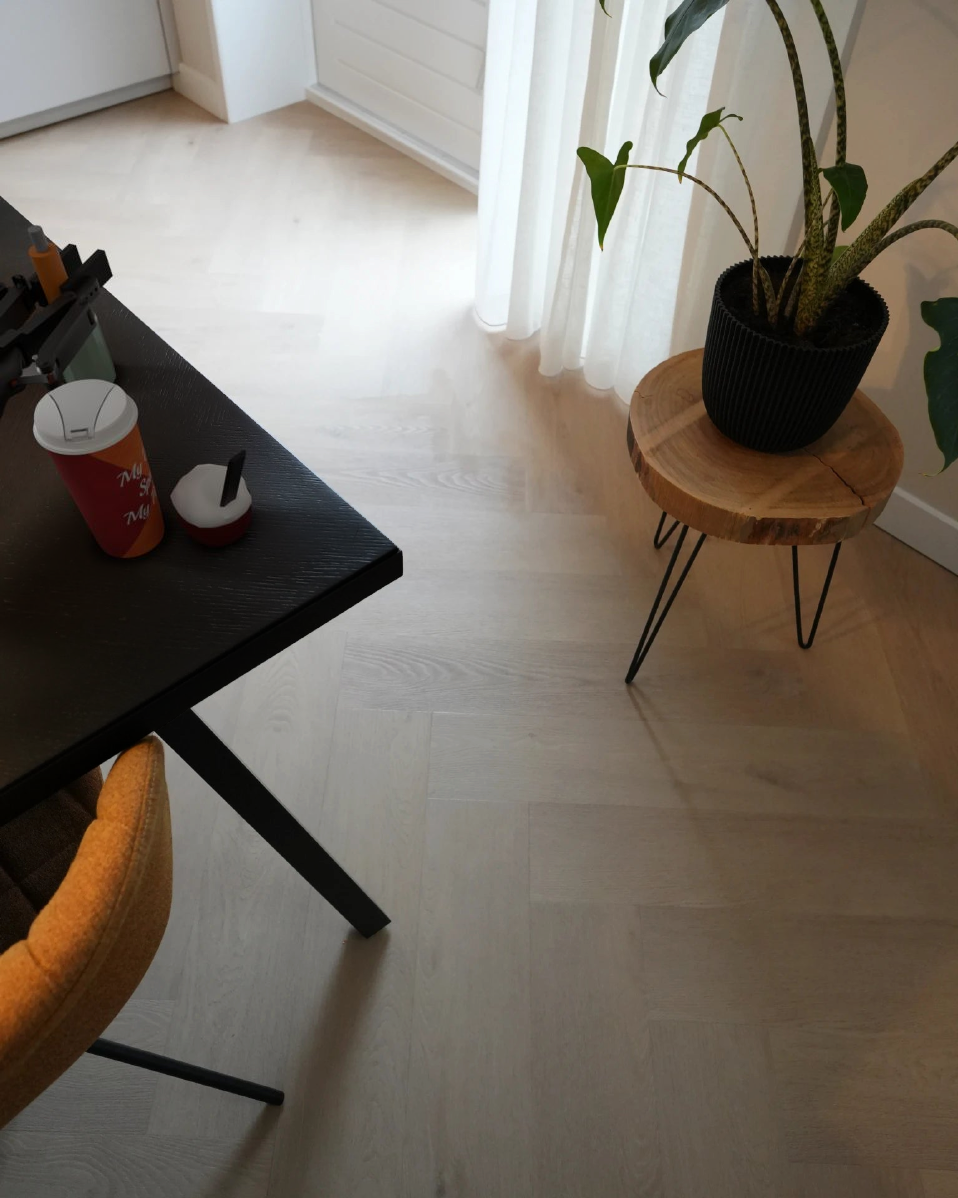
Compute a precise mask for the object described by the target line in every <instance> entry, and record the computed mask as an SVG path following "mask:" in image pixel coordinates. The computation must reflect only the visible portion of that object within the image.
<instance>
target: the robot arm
mask: <svg viewBox="0 0 958 1198" xmlns="http://www.w3.org/2000/svg"><path fill="white" fill-rule="evenodd" d="M59 255H60V258H61V260H62V263H63V266H64V268H65V271H66V274H67V277H68V279H67V280H66V281H65V282H64V283H63V284H62V285H61V286H60V287H59V288H60V290H61V293H62V294H61V295H60V296H59V297H58V298H57V299H55V300H54V301H53V302H52V303H50V304H49V303H48V301H47V298H46V296H45V293H44V291H43V288H42V286H41V283H40V280H39V278H38V275H37V273H36V271H35V272H34V273H32V274H31V275H30V276H29V277H28V278H27V279H26V277H25V275H24V274H21V273H20V274H19V273H17V274H14V275H12V276H11V277H10V278H11V281H12V282H13V286H7V284H6V283H5V282H0V421H1V420H2V418H3V416H4V412H5V409H6V406H7V403H8V401H9V400H10V399H11V398H13V397H14V396H16V395H18V394H20V393H22V392H23V391H25V389H26V388H27V385H38V384H44V386H45V388H46V390H47V391H49V392H51V391H53V390H54V389H56V388H58V387H60V386H62V380H63V372H64V371H65V369H66V368H67V367H68V365H69V364H70V362H71V361H72V360H73V358H74V357H75V355H76V354H77V353H78V351H79V350H80V348H81V347H82V346H83V344H84V343H85V341H86V340H87V339H88V337H89V336H90V334H91V333H92V332H93V330H94V329H95V327H96V326H97V323H96V320H95V317H94V314H93V312H92V310H93V309H92V306H91V304H92V303H93V302H95V300H96V299H97V298H98V297H99V296H101V293H102V288H103V287H104V286H105V285H106V284H107V283H108V282H109V281H110V280H111V279H112V278H113V276H114V274H113V271H112V269H111V265H110V262H109V260H108V256H107V252H106V250H105V249H101V248H100V249H99V248H97V249H96V250H95V251H94V252H93V253H92V254H91V255H90V256H89V257H87V259H86V260H85V261H84V262H83V261H82V259H81V255H80V253H79V250H78V247H77V244H74V243H68V244H67V245H66V246H64V248H62V250H60V251H59ZM37 302H38V305H39V307H40V308H43V309H41V310H40V311H39V312H38V313H36V314H35V315H34V316H32V315H33V314H34V312H35V311H36V309H37V307H38V306H37V304H36V303H37ZM31 316H32V318H31ZM29 318H30V319H29Z"/></svg>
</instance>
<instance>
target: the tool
mask: <svg viewBox="0 0 958 1198" xmlns="http://www.w3.org/2000/svg"><path fill="white" fill-rule="evenodd" d="M27 233H28V235H29V237H30V240H31V243H32V246H30V248H29V249H28V255H29V257H30V260H31V263H32V265H33V267H34V270H35V272H36V273H37V275H38V278H39V280H40V283H41V286H42V288H43V291H44V293H45V296H46V298H47V301H48V303H49V304H50V303H52V302H53V301H54V300H55V299H57V298H58V297H59V296H60V295H61V294H62V293H61V290H60V288H59V287H60V286H61V285H62V284H63V283H64V282H65V281H66V280H67V279H68V277H67V274H66V271H65V268H64V266H63V263H62V260H61V258H60V255H59V253H60V251H59V250H58V247H57V245H56V244H55V243H53V242H49V241H48V240H47V237H46V235H45V232H44V229H43V227H42V226H41V225H38V224H37V225H36V224H34V225H31V226H29V227H28V228H27Z"/></svg>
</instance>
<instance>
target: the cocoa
mask: <svg viewBox="0 0 958 1198" xmlns="http://www.w3.org/2000/svg"><path fill="white" fill-rule="evenodd" d="M246 456H247V450H246V449H243V448H242V449H239V450H238V451H237V452H235V453H233V454H232V455H231V456H229V457H228V462H227V466H226V465H219V464H212V463H205V464H197V465H196V466H194V468H193V469H191V470H190V471H189V472H188V473H187V474H185V475H183V476H182V477H181V478H180V479H178V480H177V481H176V485H175V487H174V488H173V490H172V492H171V493H170V495H169V497H170V499H171V503H172V505H173V507H174V508H175V512H176V513H175V514H176V516H177V519H178V521H179V523H180V524H181V526H182V527H183V529H184V530H185V531H186V533H187V534H188V535H189V537H191V539H192V540H193V541H194V542H198V543H200V544H202V545H204V546H206V547H219V548H220V547H225V546H228V545H232V544H234V543H235V542H237V541H238V540H239V539H240V538H242V537H243V536H244V535H246V533H247V531H248V529H249V527H250V525H251V522H252V518H253V505H252V500H253V499H252V495H251V490H250V489H249V488H248V486H247V485H246V481H245V479H244V478H243V476H242V474H243V469H244V465H245V461H246Z"/></svg>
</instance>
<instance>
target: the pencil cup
mask: <svg viewBox="0 0 958 1198" xmlns="http://www.w3.org/2000/svg"><path fill="white" fill-rule="evenodd" d="M92 312H93V314H94V317H95V320H96V323H97V326H96V327H95V329H94V330H93V332H92V333H91V334H90V336H89V337H88V339H87V340H86V341H85V343H84V344H83V346H82V347H81V348H80V350H79V351H78V353H77V354H76V355H75V357H74V358H73V360H72V361H71V362H70V364H69V365H68V367H67V368H66V369H65V371H64V372H63V374H62V377H63V379H64V380H65V382H66V384H67V383H70V382H74V381H80V380H88V379H97V380H103V381H107V382H110V383H113V384H114V382H115V380H116V378H117V373H116V370H115V365H114V362H113V359H112V357H111V354H110V351H109V348H108V345H107V343H106V340H105V337H104V334H103V331H102V329H101V325H100V323H99V320H98V317H97V315H96V312H95V310H94V309H92Z"/></svg>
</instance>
